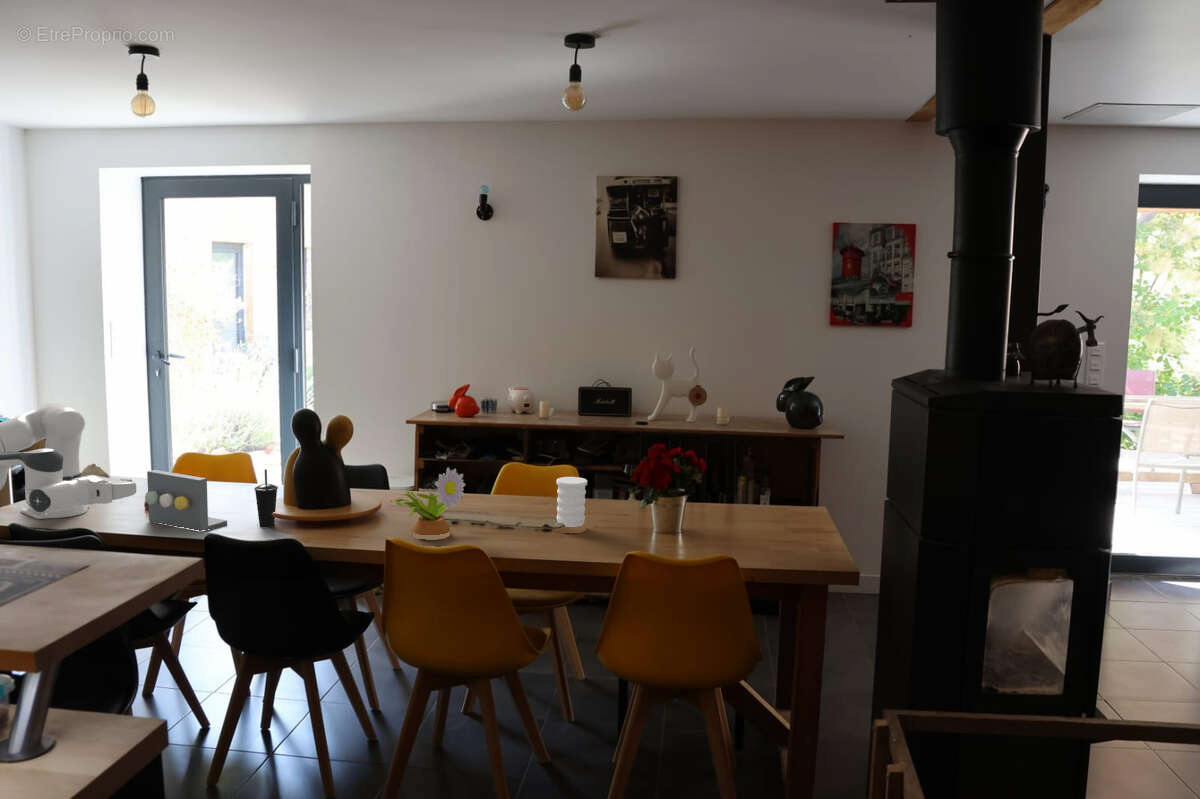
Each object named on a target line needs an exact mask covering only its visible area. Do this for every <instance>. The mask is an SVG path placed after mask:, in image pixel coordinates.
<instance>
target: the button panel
mask: <svg viewBox="0 0 1200 799" xmlns="http://www.w3.org/2000/svg"><path fill="white" fill-rule="evenodd" d="M146 475H147V477H146V478H147V479H146V480H147V492H151V491H156V492H157V493H158V494H159V502H158V503H156V504H152V505H150V504H148V503H147V504H148V522H149V521H150V522H149V523H151V522H156V523H162V524H167V525H172V526H177V527H184V528H189V529H194V530H199V531H202V530H208V529H211V530H214V529H213V528H215V529H218V528H220V527H224V525H225V526H228V520H226V519H221V518H216V517H209V513H208V512H209V510H208V509H209V507H208V506H209V504H208V503H209V501H208V478H206V477H201V476H193V475H188V474H181V473H176V472H170V471H164V470H158V469H153V470H152V469H151V470H147V472H146ZM168 493H169V494H171V495H172V496H173V498H174V501H175V499H176V498H177V497H181V496H185V497H186V498H187V499H188V501H189V506H188V508H187V509H183V510H178V509H177V508H176V507H175V504H173V505H172V506H169V507H163V506H162V505H161V504H160V496H161V495H163V494H168ZM156 523H155V524H156ZM217 527H218V528H217ZM208 531H209V530H208Z"/></svg>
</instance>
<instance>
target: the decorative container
mask: <svg viewBox="0 0 1200 799" xmlns="http://www.w3.org/2000/svg"><path fill="white" fill-rule="evenodd" d="M556 485H557V490H556V492H557V497H556V498H557V499H556V501H557V506H556V512H557V515H556V521H557V522H558V523H563V524H564V525H565V526H566V527H578V526H582V525H583V524H585V521H586V516H585V512H586V507H585V504H586V493H587V491H586V486H588V480H587V479H586V478H583V477H578V476H563V477H562V476H561V477H559V478H556ZM557 522H556V523H557Z"/></svg>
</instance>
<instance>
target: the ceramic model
mask: <svg viewBox="0 0 1200 799" xmlns="http://www.w3.org/2000/svg"><path fill="white" fill-rule="evenodd" d="M80 473H81V476H82V477H84V476H89V475H94V476H101V477H106V478H111V477H110V476H109V474H108V473H107V472H106V471H104V469H103V468H101V467H100V466H98V465H96V463H91V464H88V465H87V466H86V467H85V468H83V470H82V471H81V472H80Z"/></svg>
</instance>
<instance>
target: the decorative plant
mask: <svg viewBox="0 0 1200 799" xmlns="http://www.w3.org/2000/svg"><path fill="white" fill-rule="evenodd" d="M445 471H446V472H444V473H442V474H441V473H439V474H438V481H435V482H434V484H435V486H436V487H437V491H436V492H435V493H432V492H431V491H430V492H429V495H428V494H423V493H417V494H416V495H415V494H414V493H413V491H412V490H411V491H410V490H406V493H403V494H402V495H404V496H406V497H408V498H409V499H410V500H411V501H409V500H408V499H404V498H398V499H395V500H390V502H391V503H395V504H397V505H398V506H404V505H407V506H408V507H409V508H411V511H410V514H409V517H410V516H412V515H413V514H415V513H417V514H418V515H419V516H418V518H417V519H418V520H417V522H416V523H415V525H414V526H413V529H412V533H413V532H414V533H415V534H419V535H440V534H445V533H448V532H449V531H450V532H451V530H450V525H449V524H448V523H447V521H446V519H445V517H444V516H443V515H442V514H443V513H444V512H445V511H446V510H447V509H448V508H450V507H451V509H455V506H456V505H457V504H459V505H461V500H462V499H463V497H464V496H465V493H464V492H463V491H464V487H466V483H465V482H464V479H463V477H464V473H460V474H459V473H458V472H457V469H456V468H454V469H450V467H447V468H446V470H445ZM418 497H420V498H423V499H427V500H428V502H427V505H426V504H425V503H424V502H423V500H422V499H420V498H418ZM438 497H439V503H438V499H437V498H438Z"/></svg>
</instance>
